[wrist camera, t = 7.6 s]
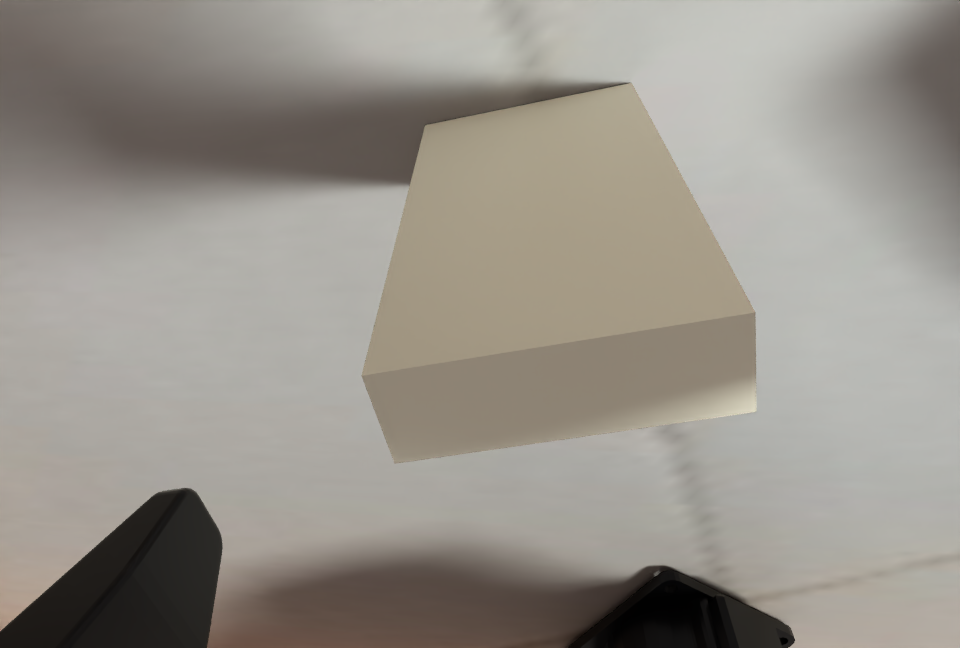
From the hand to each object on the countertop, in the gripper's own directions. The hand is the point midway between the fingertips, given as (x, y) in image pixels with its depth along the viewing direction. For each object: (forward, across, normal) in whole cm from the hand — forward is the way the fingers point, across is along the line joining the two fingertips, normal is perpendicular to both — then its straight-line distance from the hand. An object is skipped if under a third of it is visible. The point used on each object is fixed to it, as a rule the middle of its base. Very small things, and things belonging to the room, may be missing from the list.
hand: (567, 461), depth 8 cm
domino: (+11, 0, 0) cm, 11 cm away
